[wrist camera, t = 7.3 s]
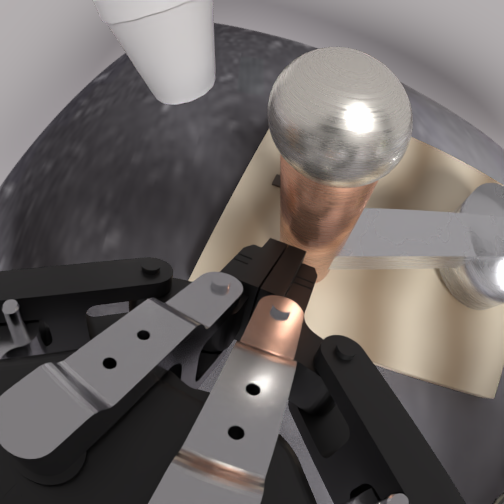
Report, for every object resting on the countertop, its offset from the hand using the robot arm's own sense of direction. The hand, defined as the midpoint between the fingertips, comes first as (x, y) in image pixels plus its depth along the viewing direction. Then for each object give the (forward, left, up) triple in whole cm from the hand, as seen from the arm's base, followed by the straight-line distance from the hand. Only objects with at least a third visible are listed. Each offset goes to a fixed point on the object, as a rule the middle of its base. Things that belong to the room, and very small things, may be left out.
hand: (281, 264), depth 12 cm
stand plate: (-6, -7, -7) cm, 11 cm away
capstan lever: (-7, -5, -5) cm, 10 cm away
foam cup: (+16, -16, -7) cm, 24 cm away
